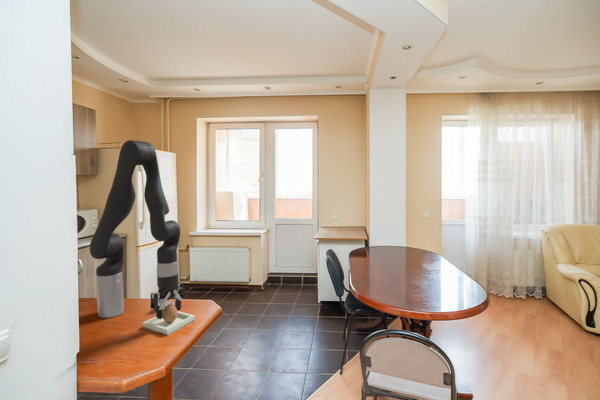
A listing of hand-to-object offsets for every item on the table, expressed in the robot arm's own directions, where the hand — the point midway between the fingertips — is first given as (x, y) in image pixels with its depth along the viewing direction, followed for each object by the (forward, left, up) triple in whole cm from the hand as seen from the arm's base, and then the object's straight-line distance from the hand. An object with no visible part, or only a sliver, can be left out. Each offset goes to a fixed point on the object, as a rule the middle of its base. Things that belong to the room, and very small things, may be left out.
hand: (169, 314), depth 122 cm
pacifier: (-14, +9, -4) cm, 17 cm away
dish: (0, 0, -4) cm, 4 cm away
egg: (0, 0, -4) cm, 4 cm away
